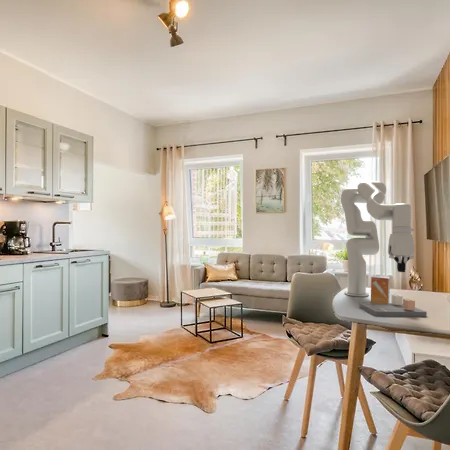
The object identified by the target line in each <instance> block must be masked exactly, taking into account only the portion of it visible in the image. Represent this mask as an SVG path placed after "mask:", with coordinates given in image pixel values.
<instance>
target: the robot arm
mask: <svg viewBox="0 0 450 450" xmlns="http://www.w3.org/2000/svg"><path fill="white" fill-rule="evenodd" d="M386 193H387V186H386V184H385V183H384V182H383V181H377V180H374V181H373V180H365V181H362V182H359V184H357V187H346V188H345V189H343V190H342V192H341V195H340V205H341V207H342V210H343V211H344V212H343V213H344V217H345V218H344V219H345V224H346V225H345V227H346V231H347V234H348V235H349V236H353V237H351V238H349V239H348V240H347V242H346V245H345V246H346V254H347V290H344V295H346V296H352V297H360V298H361V297H369V296H370V295H369V294H370V292H367V291H366V290H367V262H366V259H365V258H364V257H363V256H374V255H377V254H379V250H380V243H379V242H380V241H379V235H378V228H377V224H376V223H375V222H374V221H373V220H372V219H363V218H362V213H361V210H360V209H359V207H358V206H357V204H355V203H359V204H360V203H361V204H366V210H367V213H368V214H369V215H370V216H371V217H372V218H373V219H374V220H377V221H391V224H392V226H391V227H392V231H391V233H390V234H389V238H388V244H387V245H388V246H387V254H388V258H389V259H391V260H394V261H395V262H396V269H397V272H398V273H405V272H406V264H407V262H408V261H409V260H413V259H414V258H415V256H414V255H415V241H414V237H413V234H412V232H414V228H412V207H411V204H409V203H406V202H405V203H395V204H389V203H388V204H386V203H385V204H384V203H383V202H384V201H385V198H386V196H385V195H386Z"/></svg>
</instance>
